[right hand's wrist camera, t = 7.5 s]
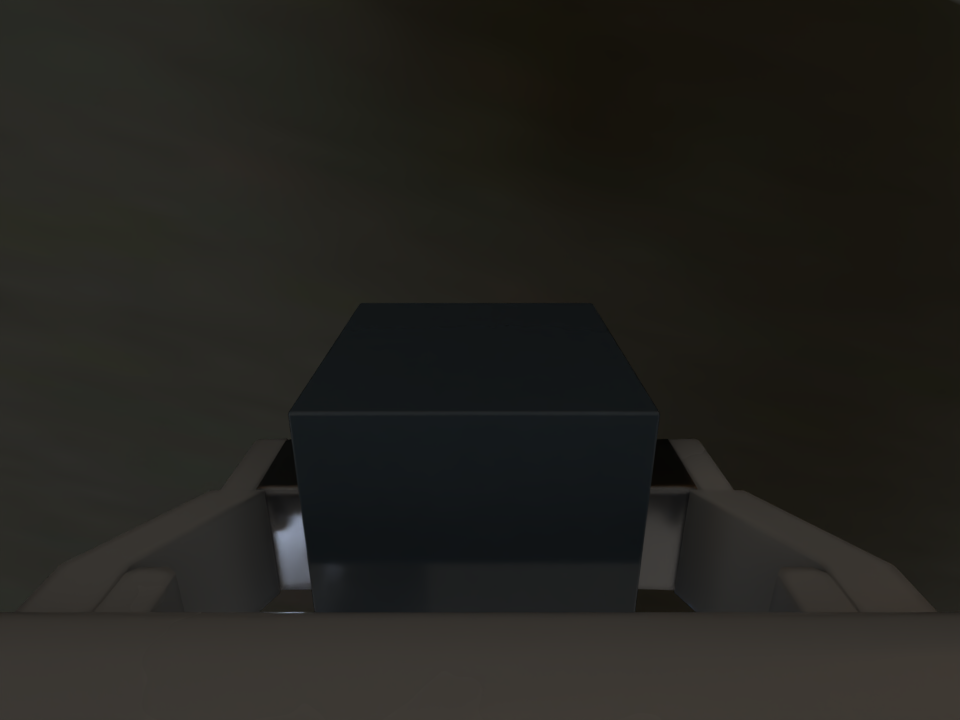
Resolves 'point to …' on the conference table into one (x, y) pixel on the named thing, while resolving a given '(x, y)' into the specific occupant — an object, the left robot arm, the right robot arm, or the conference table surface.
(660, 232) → the conference table surface
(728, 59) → the conference table surface
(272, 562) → the right robot arm
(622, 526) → the block
